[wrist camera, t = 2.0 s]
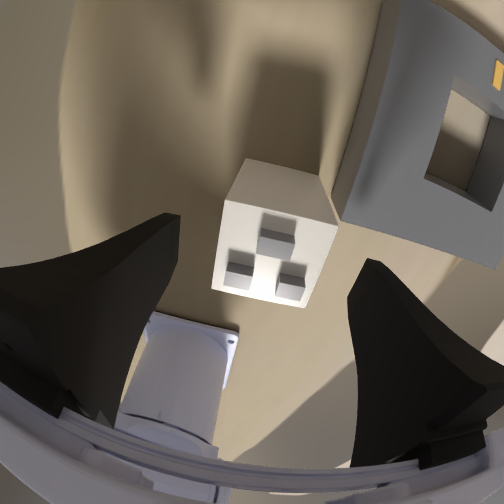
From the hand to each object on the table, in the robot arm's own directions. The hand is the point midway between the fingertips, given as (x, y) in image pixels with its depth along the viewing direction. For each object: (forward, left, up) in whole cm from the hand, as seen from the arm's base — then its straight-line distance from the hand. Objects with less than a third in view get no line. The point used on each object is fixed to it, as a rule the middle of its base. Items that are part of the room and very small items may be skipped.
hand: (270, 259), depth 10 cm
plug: (0, 0, -6) cm, 6 cm away
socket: (+7, -9, -6) cm, 13 cm away
